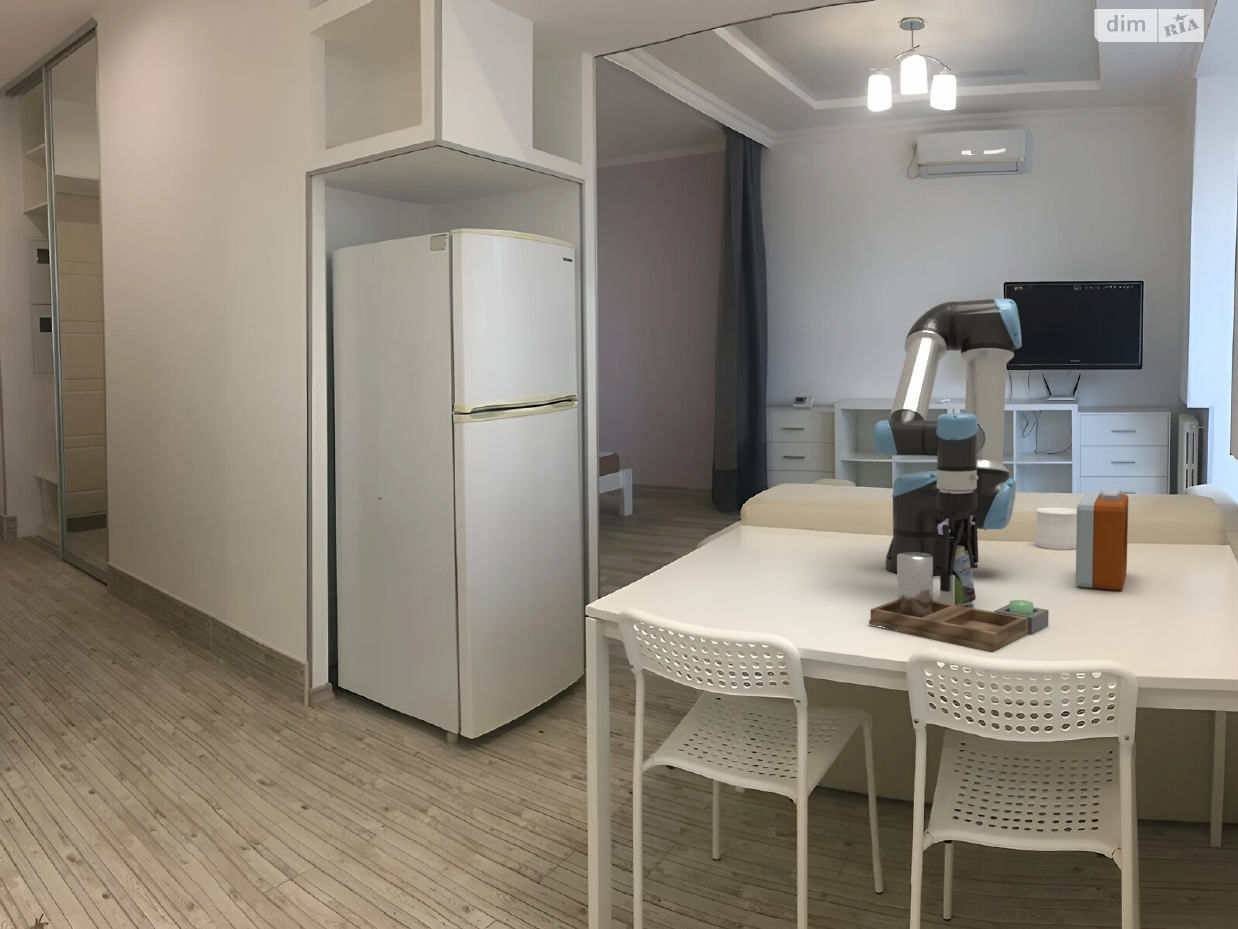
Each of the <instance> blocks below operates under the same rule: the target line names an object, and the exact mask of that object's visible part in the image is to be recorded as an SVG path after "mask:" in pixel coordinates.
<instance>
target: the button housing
mask: <svg viewBox="0 0 1238 929" xmlns="http://www.w3.org/2000/svg"><path fill="white" fill-rule="evenodd" d="M1049 611H1050V610H1049V609H1047V608H1046V609H1045V608H1040V607H1039V608H1038V607H1034V606H1033V613H1032V614H1030V615H1024V614H1018V613H1013V612H1009V604H1007V605H1004V606H1002V607H1000V608H997V609H996V610H993V612H998V613H1003V614H1009V615H1015V616H1020V617H1026V618H1028V628H1029V634H1028V635H1032V634H1035V633H1037V632H1039V631H1041V630H1043V629H1045V628H1047V627H1049V615H1050V614H1049Z"/></svg>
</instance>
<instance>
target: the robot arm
mask: <svg viewBox="0 0 1238 929" xmlns="http://www.w3.org/2000/svg"><path fill="white" fill-rule="evenodd" d="M1021 329H1022V328H1021V322H1020V317H1019V311H1018V306H1017V303H1016V302H1015V301H1014V300H1013V299H1010V298H995V297H994V298H991V299H990V298H989V299H975V300H963V301H947V302H942V303H940V304H937V305H935V306H934V307H932V308H930V309H928V310H927V311H925V313H923V314H922V315H921V316H919V318H918V319H917V320H916V321H915V322H914V323H913V324H912V326H911V328H910V329H909V331H908V333H907V335H906V337H905V338H906V339H905V342H904V351H905V354H906V356H905V359H904V363H903V367H902V371H901V374H900V377H899V382H898V386H897V389H896V393H895V395H894V396H895V397H894V401H893V404H892V407H891V408H892V409H891V411H890V416H889V419H885V420H879V421H877V423H876V424H875V427H874V429H873V430H874V431H873V432H874V433H873V444H874V449H875V451H876V452H877V453H878V454H880V455H885V456H895V457H897V456H928V457H929V456H930V457H936V458H937V459H936V460H937V461H936V463H937V467H936V470H928V471H927V470H926V471H918V472H911V473H906V474H902V475H899V476H897V477H895V479H894V481H893V485H892V487H893V488H892V490H893V491H892V495H891V497H892V537H891V538H892V539H891V542H890V544H889V548H888V551H887V553H886V557H885V569H886V568H887V569H888V570H887V569H886V570H887V571H889V570H890V571H889V572H893V573H896V572H897V555H898V554H900V553H906V552H918V553H926V554H930V555H932V556H933V576H939V586H940V587H939V602H942V603H948V604H953V605H955V575H952V572H953V566H954V560H955V554H956V548H957V546H964V547H965V549H966V550H967V552H968V553H969V559H970V565H971V571H972V572H973V569H977V568H978V565H979V564H978V563H979V544H978V542H979V541H978V530H984V531H987V530H1003V529H1005V528H1006V527H1007V526H1008V525H1009V524H1010V521H1011V518H1012V515H1013V510H1014V505H1015V499H1016V490H1017V481H1016V480H1015V479H1013V478H1010V471H1009V470H1008V468H1006V467H1005V466H1004V464H1003V458H1004V457H1003V454H1004V436H1005V435H1004V434H1005V433H1004V428H1005V410H1006V409H1005V405H1006V386H1007V385H1006V383H1007V382H1006V381H1007V380H1006V378H1007V364H1008V362H1009V361H1011V360H1012V359H1013V358H1014V357H1015V350H1018V349H1020V348H1021V347H1022V346H1023V344H1022V330H1021ZM947 351H960V358H961V359H962V360H963V361H964V362H965V363H966V378H965V379H966V380H965V382H966V383H965V401H964V402H965V403H964V412H963V413H959V412H958V413H955V412H954V413H953V412H952V413H942V414H940V415H939V416H938V417H937V420H927V417H928V416H927V415H928V411H929V407H930V403H931V399H932V394H933V389H934V386H935V381H936V376H937V372H938V370H939V369H938V368H939V364H940V360H942V359H943V358H944V357H945V355H946V353H947Z"/></svg>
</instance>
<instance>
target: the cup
mask: <svg viewBox="0 0 1238 929" xmlns="http://www.w3.org/2000/svg"><path fill="white" fill-rule="evenodd" d="M1035 512H1036V530H1035V541H1036V542H1035V543H1036V545H1037V546H1038V547H1039V548H1042V549H1048V550H1058V551H1059V550H1060V551H1061V550H1062V551H1067V550H1076V538H1077V508H1075V509H1074V508H1070V507H1069V508H1068V507H1040V508H1037V509H1036V510H1035Z"/></svg>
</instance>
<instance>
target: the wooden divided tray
mask: <svg viewBox="0 0 1238 929" xmlns="http://www.w3.org/2000/svg"><path fill="white" fill-rule="evenodd" d="M869 624H871V625H875V626H882V627H885V628H888V629H891V630H890V631H893V630H897V631H896V632H898V631H900V632H899V633H902V632H903V633H904V634H907V633H908V634H909V635H913V636H918V637H921V638H926V639H931V640H936V641H941V642H946V643H950V644H955V645H959V646H960V645H961V646H964V647H969V648H973V649H978V650H982V651H986V652H987V651H988V652H992V653H994V652H996V651H997V650H1000V649H1002V648H1003V647H1005V646H1007V645H1009V644H1011V643H1014V642H1016V641H1017V640H1019V639H1022V638H1023V637H1025V636H1027V635H1030V634H1029V628H1028V618H1026V617H1020V616H1015V615H1009V614H1003V613H998V612H994V611H992V610H985V609H981V608H976V607H975V608H974V607H969V606H965V605H964V606H959V605H953V604H948V603H942V602H940V601H936V600H935V601H934V600H933V613H932V614H930V615H927V616H925V617H923V618H920V617H915V616H910V615H905V614H900V613H897V599H895V600H892V601H890V602H887V603H884V604H882V605H879V606H876V607H873V608H870V619H869V621H868V625H869ZM888 629H887V630H888ZM908 634H907V635H908Z"/></svg>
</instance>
